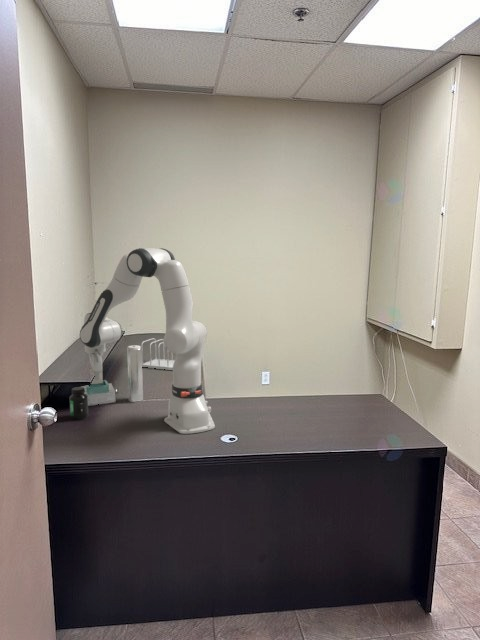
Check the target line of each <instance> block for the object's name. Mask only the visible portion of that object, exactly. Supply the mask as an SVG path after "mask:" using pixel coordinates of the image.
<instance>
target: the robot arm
mask: <svg viewBox="0 0 480 640" xmlns="http://www.w3.org/2000/svg"><path fill="white" fill-rule="evenodd" d="M143 277H144V278H152V277H155V278H156V279H157V281H158V282H159V286H160V290H161V295H162V296H161V297H162V299H163V305H164V309H165V333H164V337H163V340H164V348H165V349H166V350H168V353H170V354H171V353H172V354H173V355H174V354H175V359H174V360H175V362H174V364H173V370H172V385H171V393H172V394H171V395H172V396H171V398H169V399H168V407H167V410H168V411H167V412H168V413H167V416H166V417H165V418H164V419H163V421H164V422H165V424H167V425H169V426H170V427H171V428H172V429H174V430H176V432H178V433H179V434H185V435H186V434H187V435H188V434H196V433H197V434H198V433H202V432H208V431H210V430H214V429H215V428H216V425H215V422H214V420H213V418H212V416H211V414H210V413H212V407H211V406H208V403H209V402H208V400H206V399H205V395H204V391H203V390H204V389H203V384H202V360H203V354H204V348H205V342H206V339H207V336H208V331H207V328H206V326H205V324H204V323H202V322H200V321H196V320H193V310H194V305H195V304H194V300H193V296H192V290H191V287H190V283H189V279H188V276H187V274H186V271H185V268H184V265H183V264H182V263H181V262H180V261H179V260H176V258H175V255H174V254H173V253H172V251H170V250H168V249H167V248H166V249H165V248H160V247H159V248H157V247H143V248H141V247H140V248H136V249H133V250H131V251H130V252H129V253H126V254H124V255H123V256H122V257H121V259H120V260H119V262H118V264H117V266H116V269H115V270H114V273H113V276H112V279H111V280H110V282H109V283H108V285H107V287H106V288H105V289H104V290H103V291H102V292H101V294H99V296H98V298H97V300H96V302H95V304H94V306H93V308H92V310H91V312H88V313H87V314H85V315H84V319H83V325H82V326H81V328H80V331H79V339H80V341H81V343H82V344H83V345H84V352H85V353H86V354H87V355H88V357H89V358H88V359H89V363H90V366H91V368H92V369H93V372H94V373H95V380H99V374H100V372H102V373H103V358H102V357H103V355H104V353H105V352H107V351H106V345H107V344H110V343H114V342H117V341H119V340H120V339H121V337H122V334H123V329H122V326H121V324H120V322H118V321H116V320H113V319H111V318H109V317H107V316H108V314H109V312H110V311H111V310H112V309H113V308H114V307H116V306H118V305H120V304H122V303H124V302H128V301H129V300H132V299H133V298H134V296H136V294H137V293H138V291H139V288H140V285H141V282H142V279H143ZM176 354H177V355H176Z"/></svg>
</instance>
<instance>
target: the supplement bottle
mask: <svg viewBox="0 0 480 640" xmlns="http://www.w3.org/2000/svg"><path fill="white" fill-rule="evenodd" d="M68 400H69V415H70V416H69V417H70V419H71V420H73V421H79V420H80V421H81V420H84V419H87V418H88V417H89V406H88V397H87V395H86V394H85V389H84V387H81V386H75V387H72V388H71V395H70V396H69V399H68Z"/></svg>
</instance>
